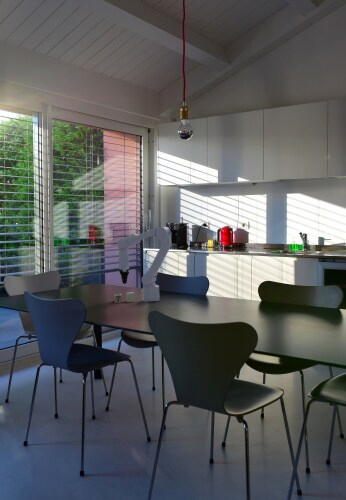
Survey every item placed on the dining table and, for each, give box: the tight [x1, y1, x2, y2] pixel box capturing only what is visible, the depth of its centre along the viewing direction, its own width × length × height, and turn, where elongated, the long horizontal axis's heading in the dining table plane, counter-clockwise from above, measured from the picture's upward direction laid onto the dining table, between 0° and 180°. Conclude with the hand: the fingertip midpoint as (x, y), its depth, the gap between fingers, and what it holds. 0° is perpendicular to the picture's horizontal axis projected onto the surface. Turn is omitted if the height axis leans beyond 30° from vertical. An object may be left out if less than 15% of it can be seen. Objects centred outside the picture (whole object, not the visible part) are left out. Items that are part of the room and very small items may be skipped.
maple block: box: [113, 293, 123, 304], centre depth 298 cm, size 4×4×7 cm
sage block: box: [125, 291, 136, 303], centre depth 298 cm, size 4×4×5 cm
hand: (124, 282), depth 304 cm, fingers open, 7 cm apart
